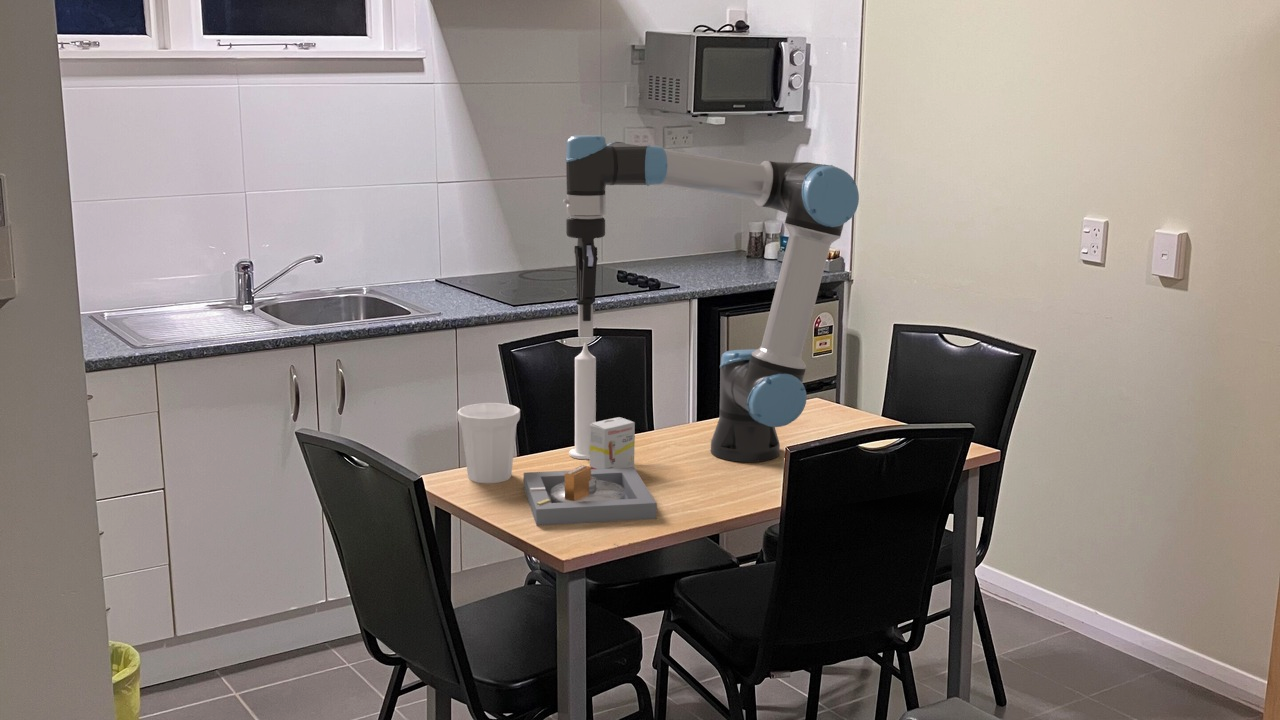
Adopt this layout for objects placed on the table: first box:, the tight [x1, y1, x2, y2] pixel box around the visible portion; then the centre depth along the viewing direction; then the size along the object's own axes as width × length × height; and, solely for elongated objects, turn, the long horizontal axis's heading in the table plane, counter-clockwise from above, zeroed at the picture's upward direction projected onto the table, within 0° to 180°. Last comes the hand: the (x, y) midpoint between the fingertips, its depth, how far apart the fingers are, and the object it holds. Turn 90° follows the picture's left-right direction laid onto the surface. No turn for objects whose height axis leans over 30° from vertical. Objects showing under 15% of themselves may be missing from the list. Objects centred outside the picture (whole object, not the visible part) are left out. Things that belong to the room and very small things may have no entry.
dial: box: [551, 464, 625, 503], centre depth 235 cm, size 14×14×7 cm
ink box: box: [589, 416, 636, 469], centre depth 255 cm, size 9×5×12 cm, turn 133°
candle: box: [568, 342, 597, 460], centre depth 269 cm, size 7×7×25 cm
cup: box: [456, 402, 521, 484], centre depth 250 cm, size 12×12×15 cm
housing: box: [523, 466, 658, 526], centre depth 236 cm, size 22×22×5 cm
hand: (585, 336), depth 246 cm, fingers closed
